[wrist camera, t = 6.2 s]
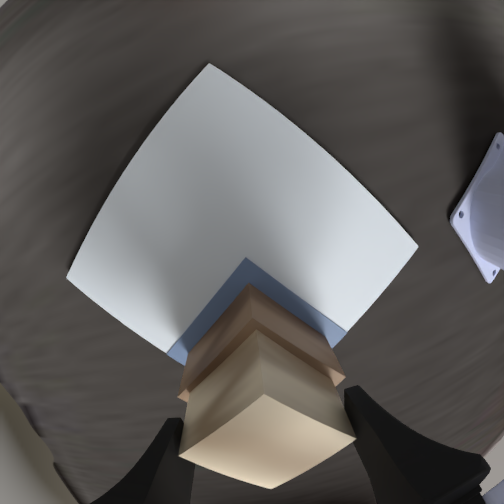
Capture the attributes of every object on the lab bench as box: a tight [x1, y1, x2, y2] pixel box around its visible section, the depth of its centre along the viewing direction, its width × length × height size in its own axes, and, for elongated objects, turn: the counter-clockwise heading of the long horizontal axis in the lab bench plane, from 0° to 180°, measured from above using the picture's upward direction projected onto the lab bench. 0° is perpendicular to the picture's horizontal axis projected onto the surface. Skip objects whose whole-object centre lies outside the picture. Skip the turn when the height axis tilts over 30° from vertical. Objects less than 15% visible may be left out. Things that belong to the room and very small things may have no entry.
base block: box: [178, 283, 346, 402], centre depth 15 cm, size 6×6×4 cm
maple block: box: [178, 329, 357, 489], centre depth 11 cm, size 5×5×4 cm
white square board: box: [66, 63, 418, 366], centre depth 16 cm, size 15×16×1 cm
